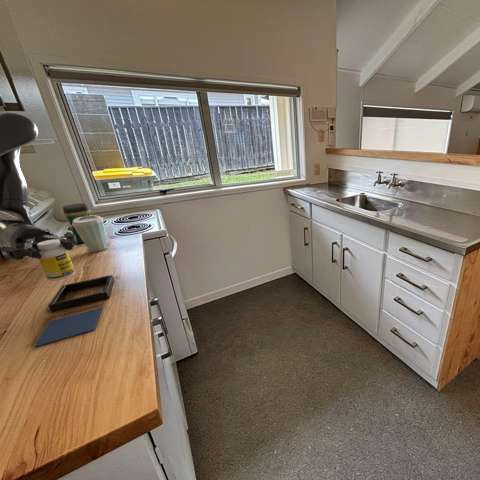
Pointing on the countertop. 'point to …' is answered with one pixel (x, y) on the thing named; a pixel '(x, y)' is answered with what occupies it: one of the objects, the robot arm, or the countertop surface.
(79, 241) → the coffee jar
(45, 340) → the mat
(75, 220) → the disposable coffee cup
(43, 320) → the countertop surface
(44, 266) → the supplement bottle
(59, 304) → the dark serving tray
